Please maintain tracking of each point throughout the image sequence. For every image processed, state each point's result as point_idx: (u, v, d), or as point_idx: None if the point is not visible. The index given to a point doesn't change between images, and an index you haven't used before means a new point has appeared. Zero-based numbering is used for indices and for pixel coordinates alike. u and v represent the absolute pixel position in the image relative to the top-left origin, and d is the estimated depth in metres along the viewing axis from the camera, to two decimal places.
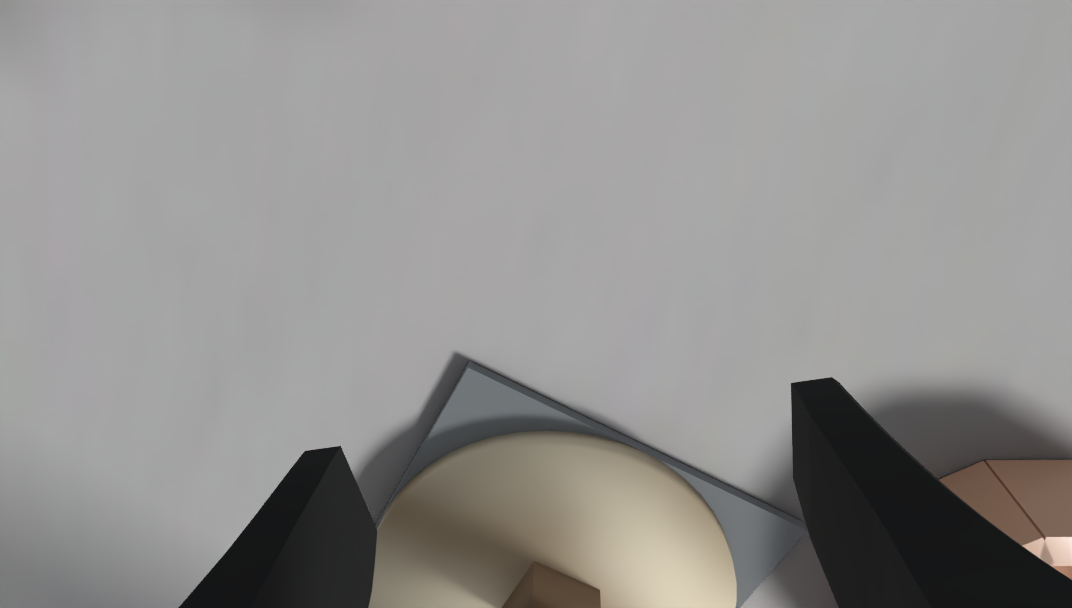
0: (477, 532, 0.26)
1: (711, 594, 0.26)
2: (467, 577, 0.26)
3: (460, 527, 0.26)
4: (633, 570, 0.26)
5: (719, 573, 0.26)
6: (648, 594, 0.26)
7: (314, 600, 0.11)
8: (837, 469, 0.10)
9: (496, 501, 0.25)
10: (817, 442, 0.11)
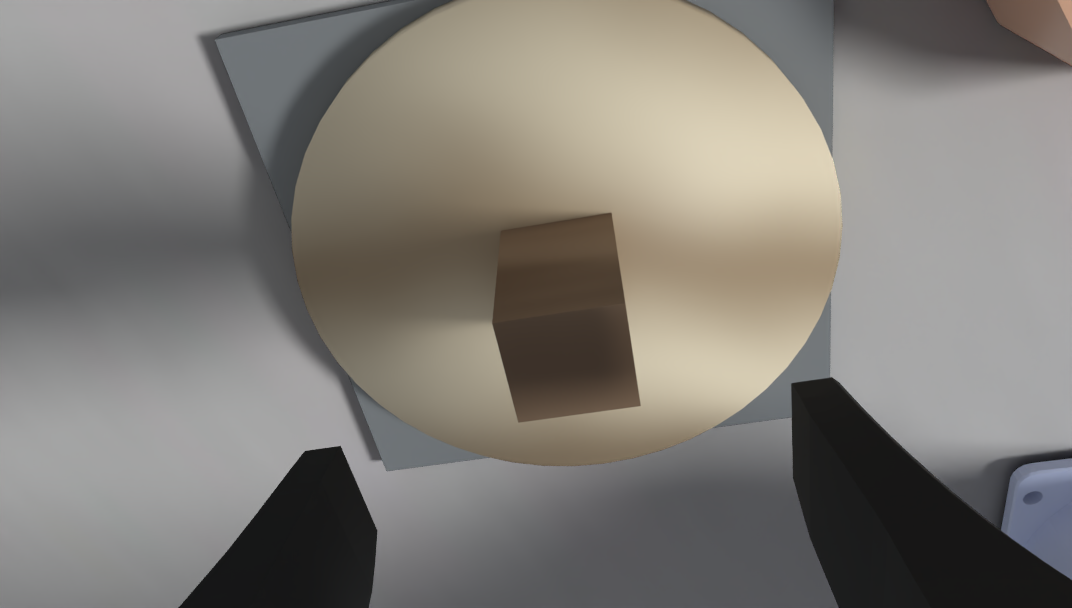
0: (407, 241, 0.18)
1: (759, 112, 0.16)
2: (450, 306, 0.19)
3: (384, 249, 0.18)
4: (627, 154, 0.17)
5: (743, 72, 0.16)
6: (676, 174, 0.17)
7: (314, 600, 0.11)
8: (837, 469, 0.10)
9: (388, 185, 0.17)
10: (817, 442, 0.11)
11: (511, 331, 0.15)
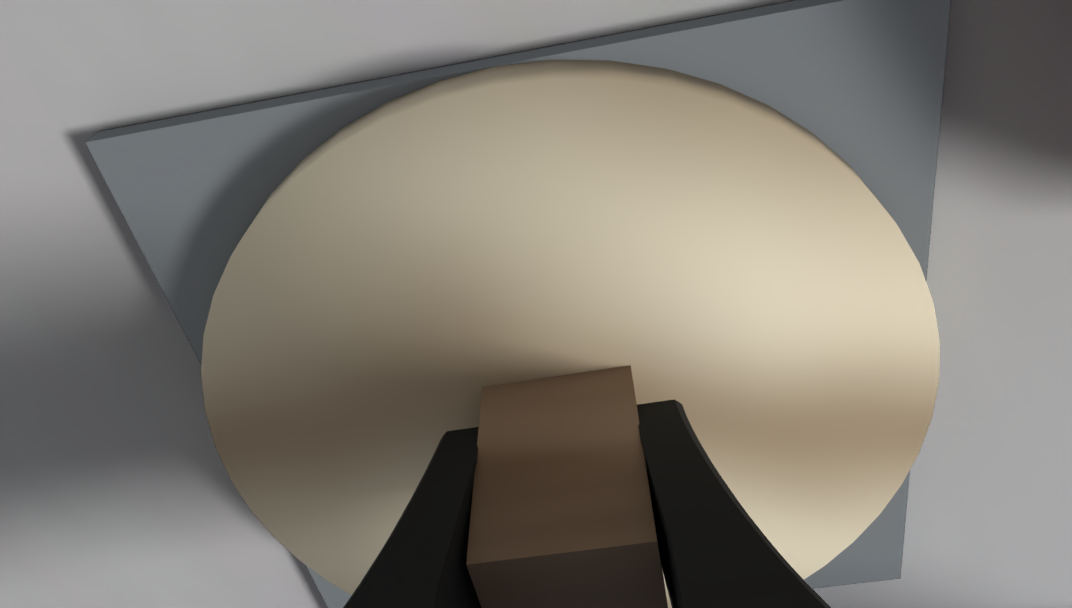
0: (357, 400, 0.13)
1: (836, 243, 0.12)
2: (417, 474, 0.14)
3: (327, 408, 0.13)
4: (654, 295, 0.12)
5: (817, 192, 0.11)
6: (719, 319, 0.12)
7: None
8: (655, 492, 0.11)
9: (328, 333, 0.13)
10: (646, 465, 0.11)
11: (493, 574, 0.10)
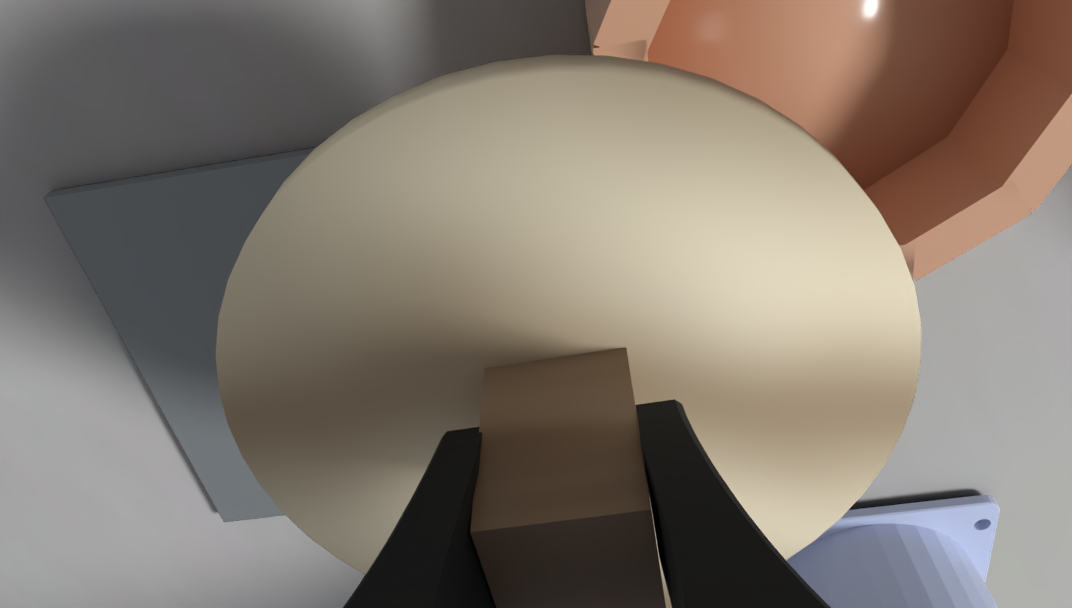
0: (364, 380, 0.14)
1: (821, 230, 0.12)
2: (422, 452, 0.15)
3: (336, 389, 0.14)
4: (648, 280, 0.13)
5: (803, 182, 0.12)
6: (710, 303, 0.13)
7: (477, 581, 0.11)
8: (655, 492, 0.11)
9: (338, 316, 0.13)
10: (646, 465, 0.11)
11: (495, 541, 0.11)
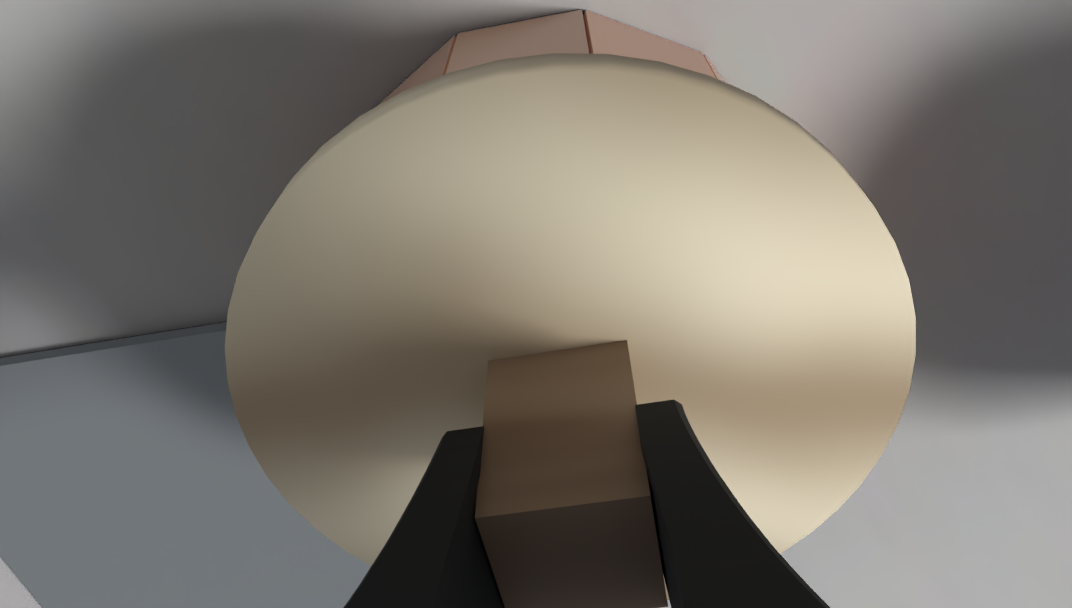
0: (370, 373, 0.14)
1: (818, 224, 0.13)
2: (426, 444, 0.15)
3: (342, 381, 0.14)
4: (648, 273, 0.13)
5: (800, 177, 0.12)
6: (709, 296, 0.13)
7: (477, 580, 0.11)
8: (654, 493, 0.11)
9: (344, 309, 0.14)
10: (646, 465, 0.11)
11: (500, 527, 0.11)
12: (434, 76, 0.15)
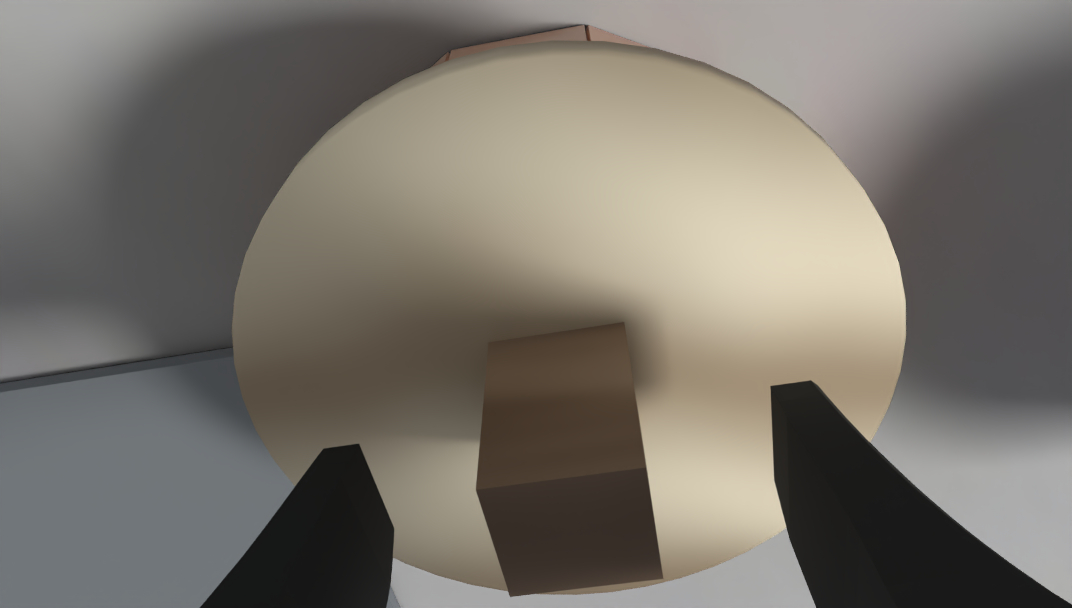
0: (373, 355, 0.15)
1: (810, 208, 0.13)
2: (428, 425, 0.16)
3: (346, 363, 0.15)
4: (645, 256, 0.13)
5: (792, 161, 0.13)
6: (704, 279, 0.14)
7: (335, 598, 0.11)
8: (813, 472, 0.10)
9: (349, 291, 0.14)
10: (794, 445, 0.11)
11: (500, 498, 0.12)
12: None
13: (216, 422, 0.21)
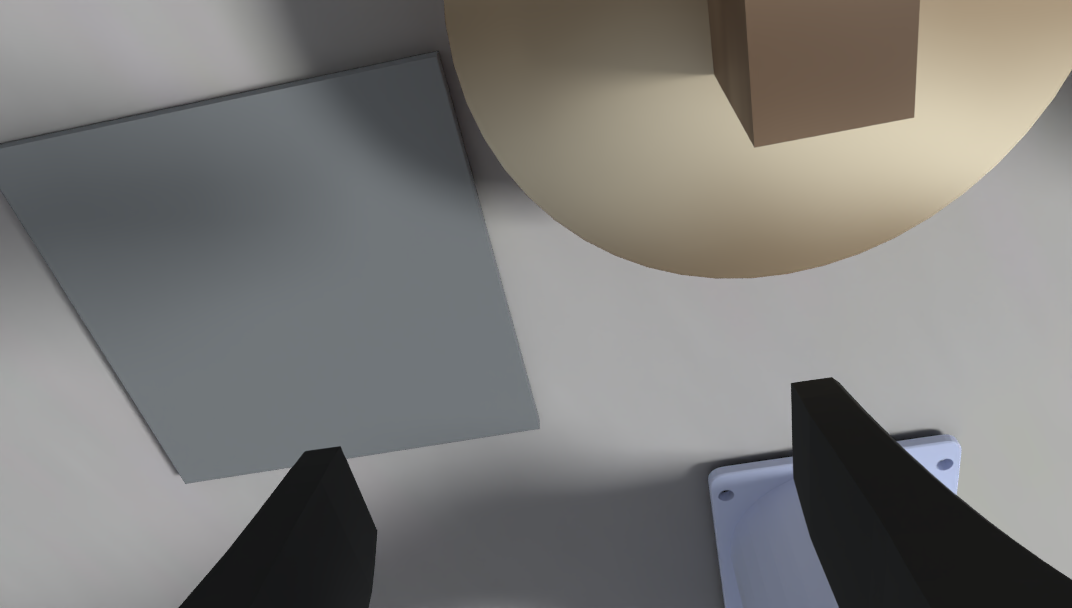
0: None
1: None
2: (628, 54, 0.15)
3: None
4: None
5: None
6: None
7: (314, 600, 0.11)
8: (837, 469, 0.10)
9: None
10: (817, 442, 0.11)
11: (766, 2, 0.12)
12: None
13: (367, 149, 0.21)
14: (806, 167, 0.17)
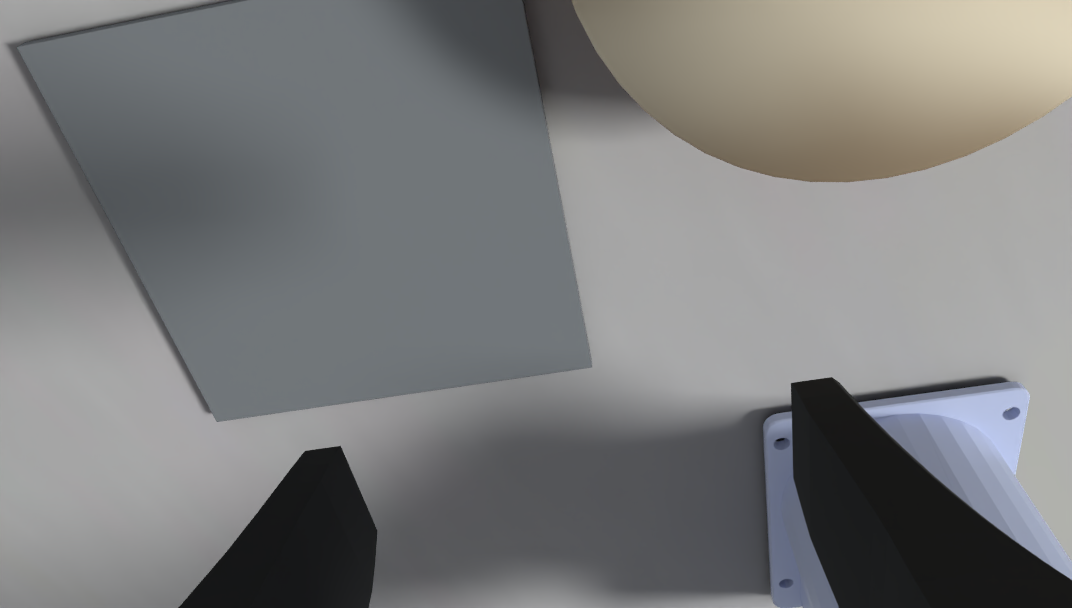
0: None
1: None
2: None
3: None
4: None
5: None
6: None
7: (314, 600, 0.11)
8: (837, 469, 0.10)
9: None
10: (817, 442, 0.11)
11: None
12: None
13: (432, 51, 0.20)
14: (918, 55, 0.16)
